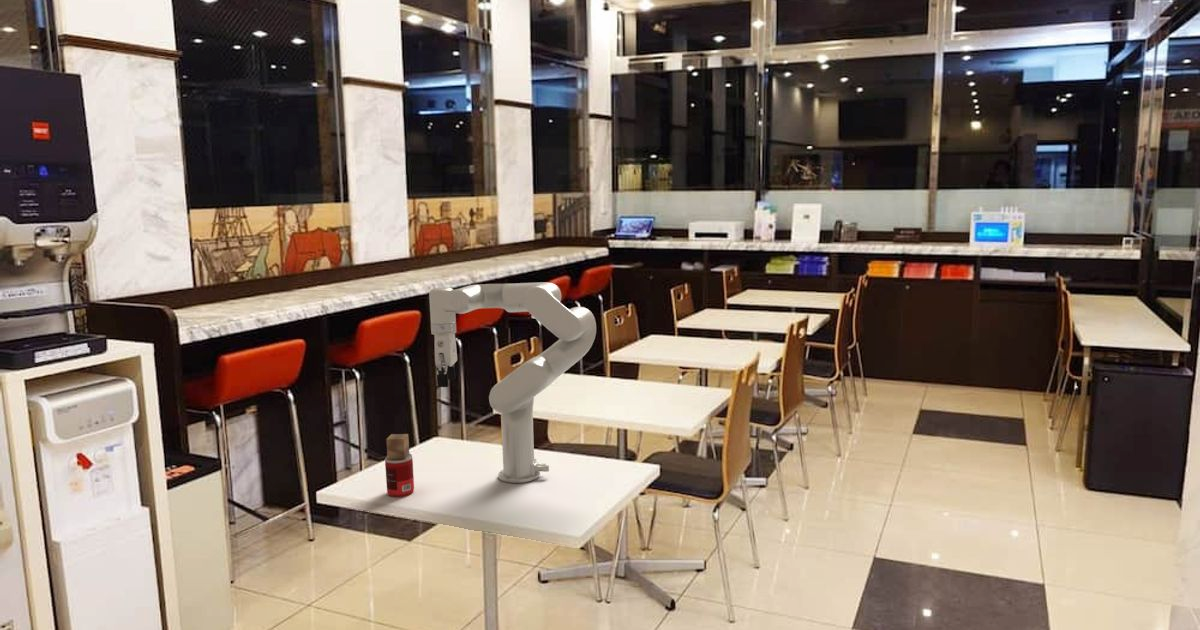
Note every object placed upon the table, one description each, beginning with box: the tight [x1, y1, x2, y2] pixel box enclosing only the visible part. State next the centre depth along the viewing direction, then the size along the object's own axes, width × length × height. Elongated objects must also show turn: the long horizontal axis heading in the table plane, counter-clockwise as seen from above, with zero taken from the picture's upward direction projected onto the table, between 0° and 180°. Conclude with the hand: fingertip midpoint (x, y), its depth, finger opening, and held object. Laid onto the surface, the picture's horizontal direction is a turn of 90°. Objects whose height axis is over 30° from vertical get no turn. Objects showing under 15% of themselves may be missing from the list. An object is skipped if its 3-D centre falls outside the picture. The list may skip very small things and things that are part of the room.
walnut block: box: [385, 433, 410, 460], centre depth 249 cm, size 5×5×6 cm
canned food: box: [384, 453, 415, 498], centre depth 250 cm, size 8×8×11 cm
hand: (446, 383), depth 264 cm, fingers open, 9 cm apart
